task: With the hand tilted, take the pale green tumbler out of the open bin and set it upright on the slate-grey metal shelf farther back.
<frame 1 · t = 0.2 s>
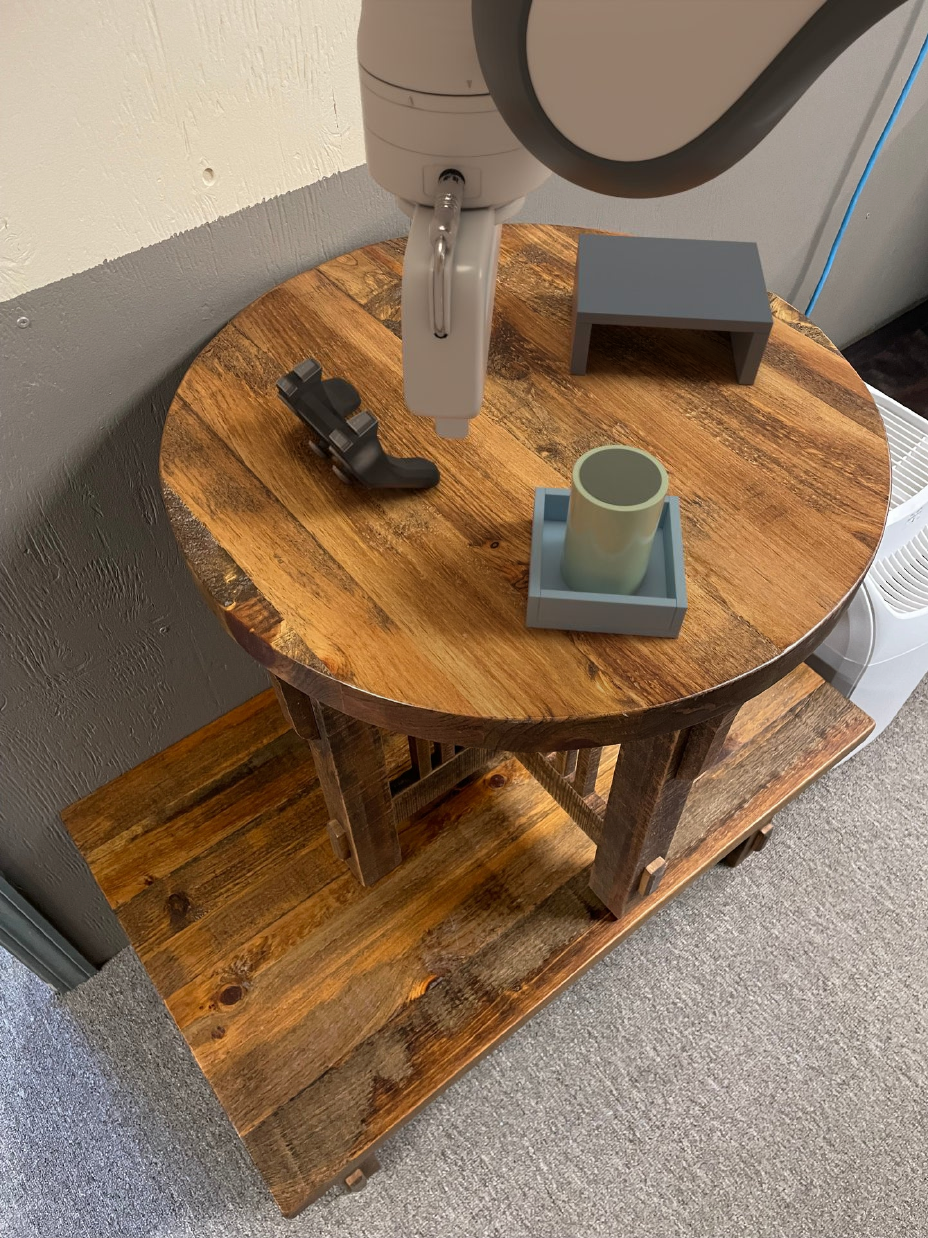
hand: (460, 376, 50), 22 cm above the table, tool pointing down, fingers open, 8 cm apart
game controller: (357, 459, 78), on the table
cup: (602, 569, 69), point 1 cm above the table, touching open bin
open bin: (601, 575, 70), on the table
shelf: (658, 337, 89), on the table
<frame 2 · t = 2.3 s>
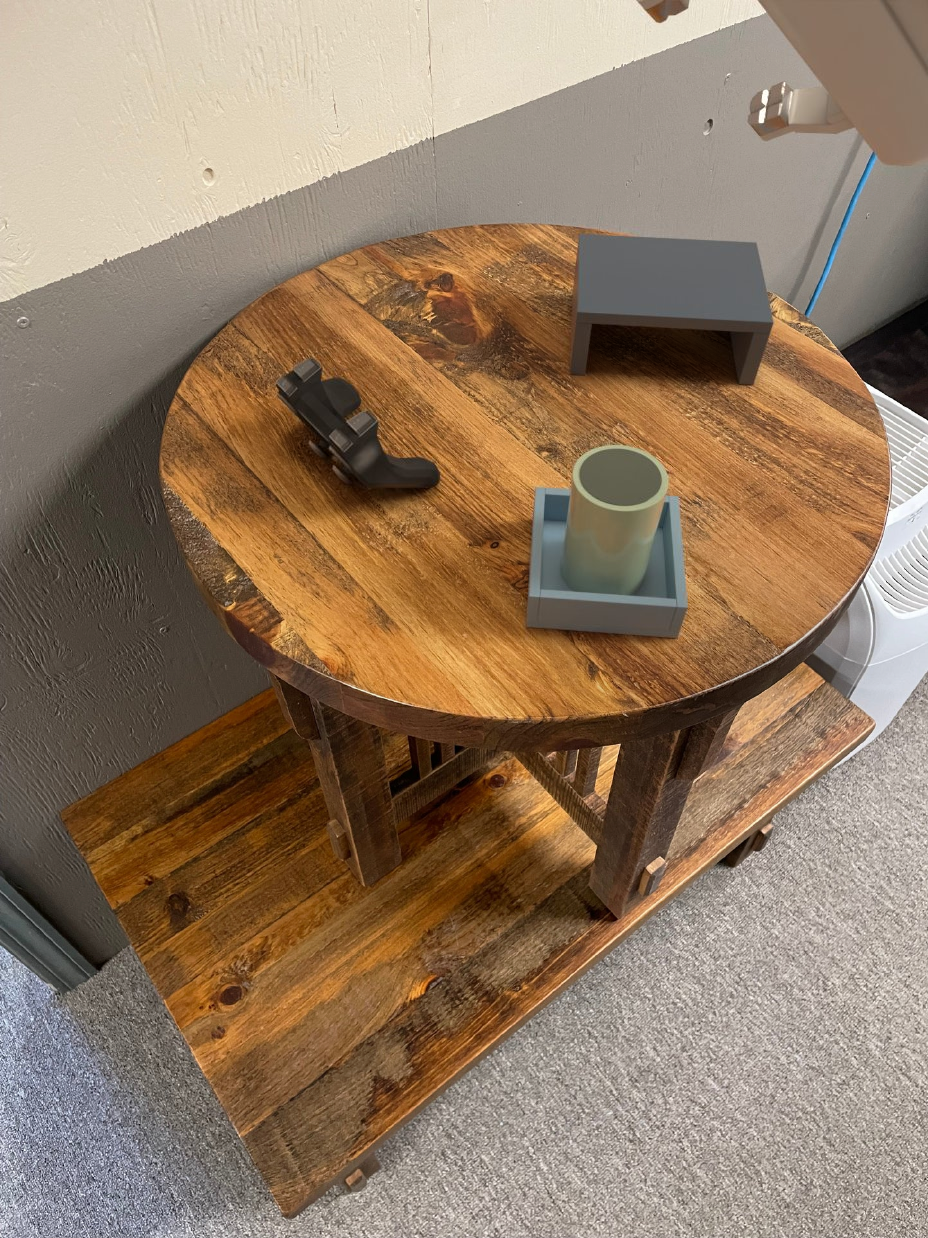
hand: (705, 63, 41), 37 cm above the table, tool tilted 55°, fingers open, 8 cm apart
nothing on the table moved.
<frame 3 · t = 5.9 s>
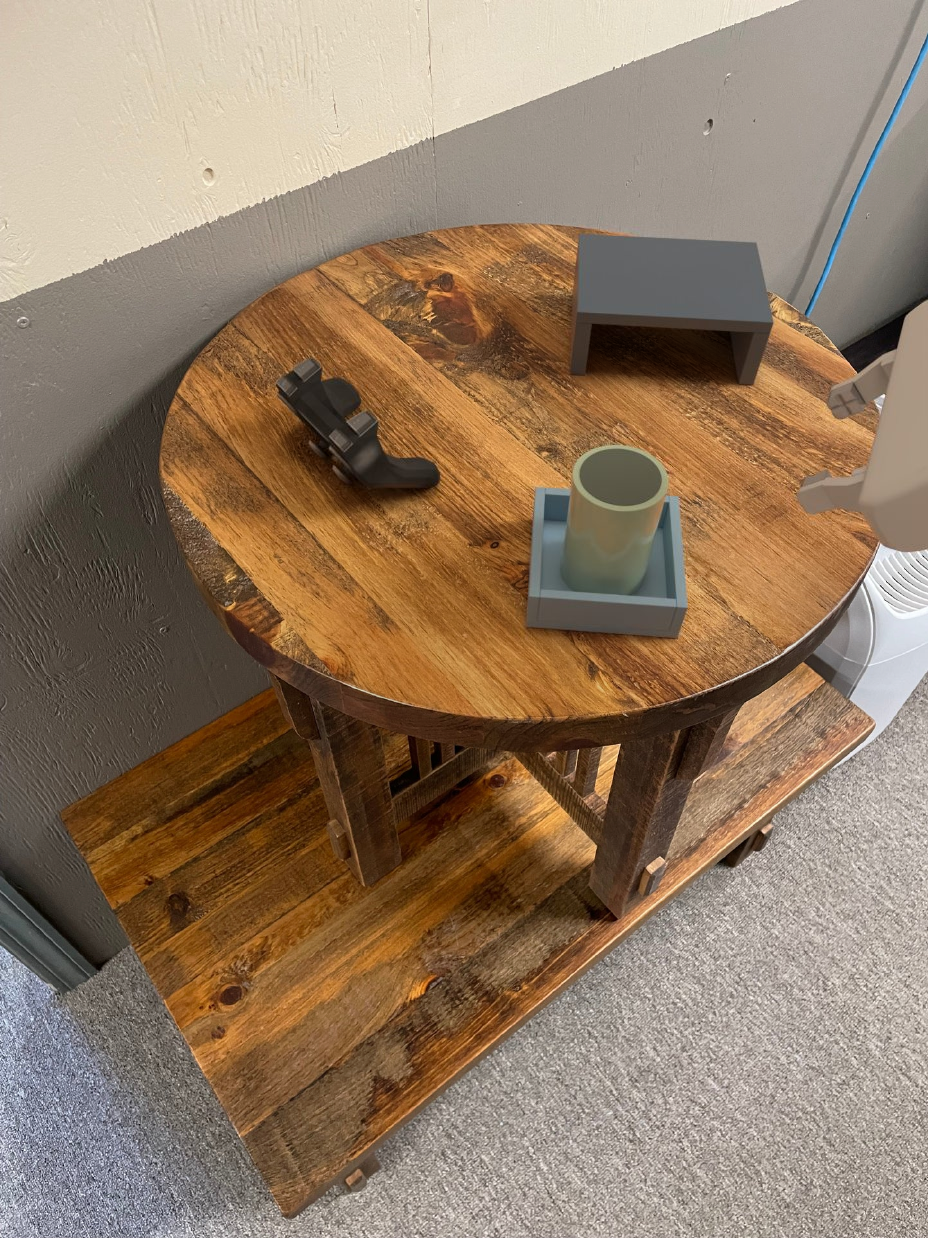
hand: (818, 448, 53), 17 cm above the table, tool tilted 45°, fingers open, 8 cm apart
nothing on the table moved.
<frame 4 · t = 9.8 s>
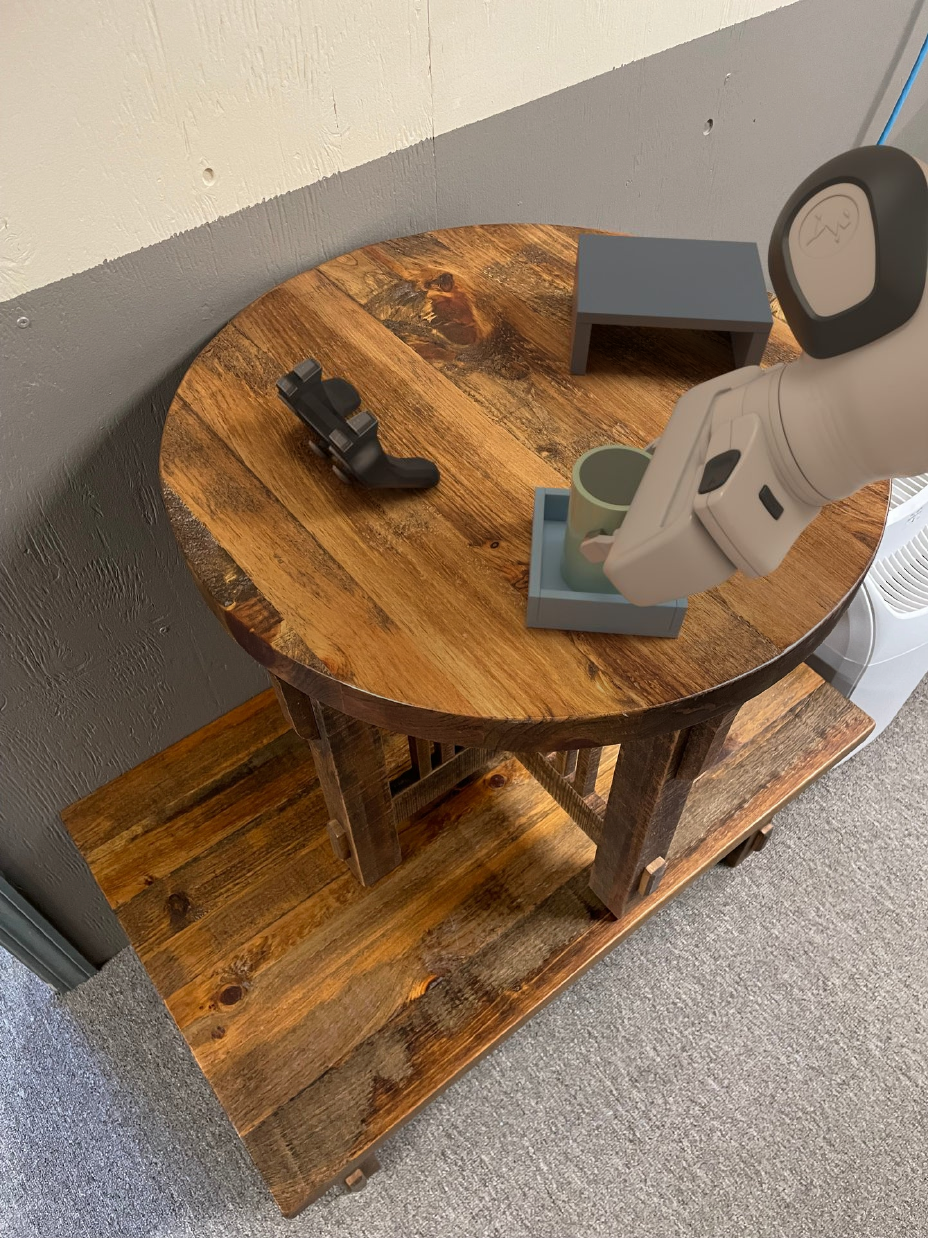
hand: (604, 512, 64), 7 cm above the table, tool tilted 45°, fingers closed on cup, 7 cm apart
cup: (602, 568, 69), point 1 cm above the table, touching open bin, gripper
everything else where it was.
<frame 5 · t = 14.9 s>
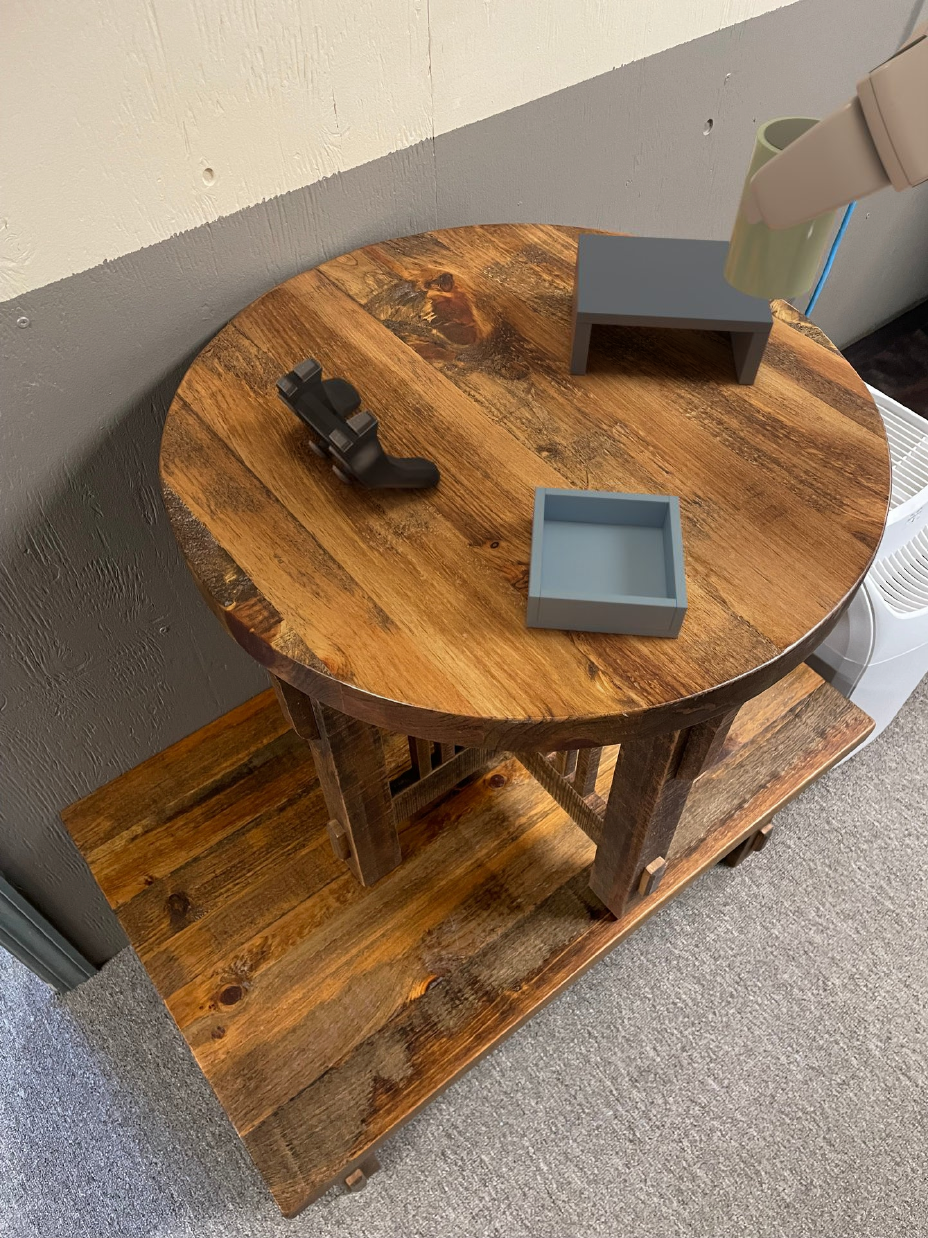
hand: (783, 192, 62), 23 cm above the table, tool tilted 45°, fingers closed on cup, 7 cm apart
cup: (767, 275, 66), point 17 cm above the table, touching gripper
everything else where it was.
when the fingers open (13 cm above the table, at t = 20.3 s): cup stays where it is, resting on shelf.
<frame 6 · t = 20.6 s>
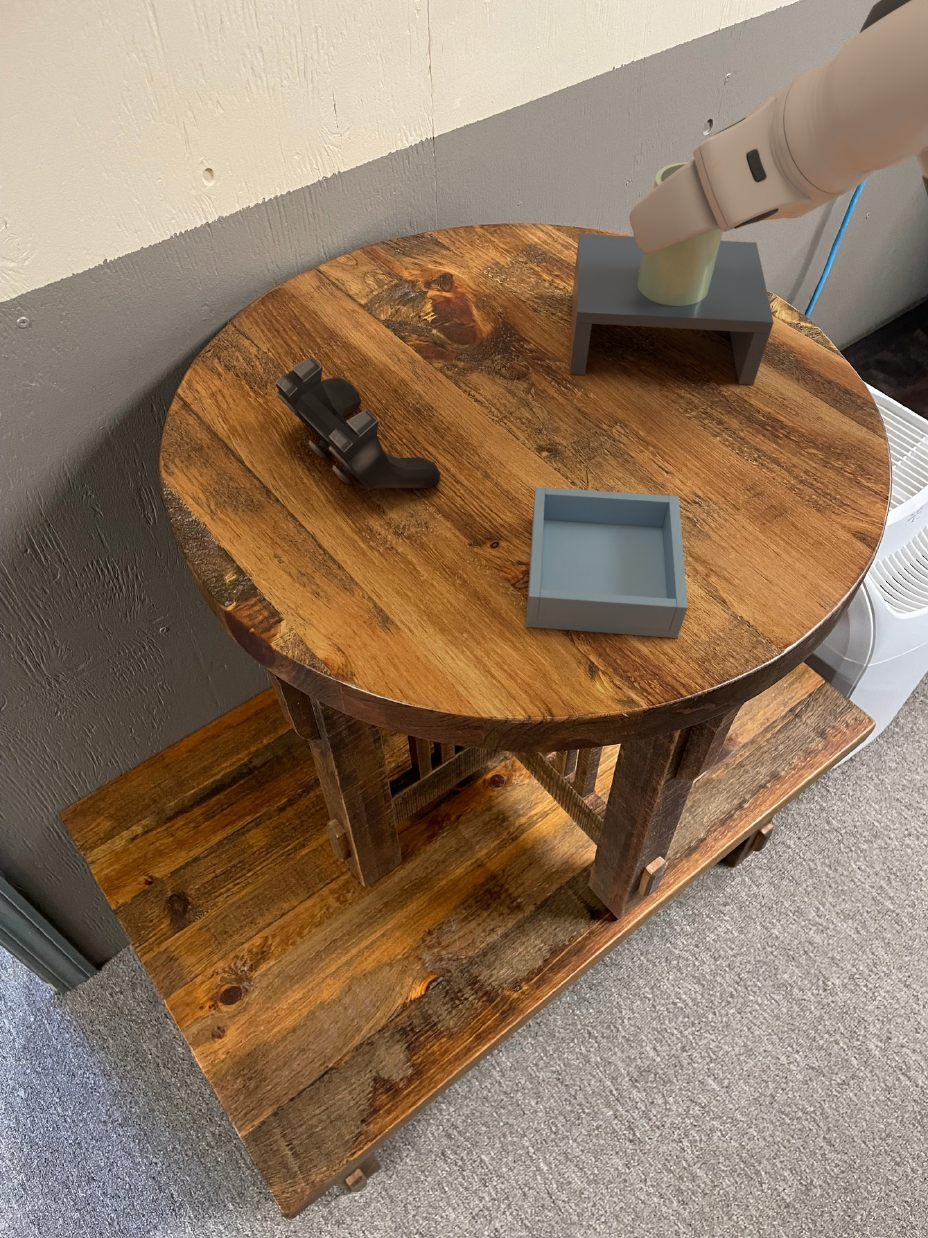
hand: (679, 223, 78), 13 cm above the table, tool tilted 45°, fingers open, 8 cm apart
cup: (672, 285, 83), point 7 cm above the table, touching shelf
everything else where it was.
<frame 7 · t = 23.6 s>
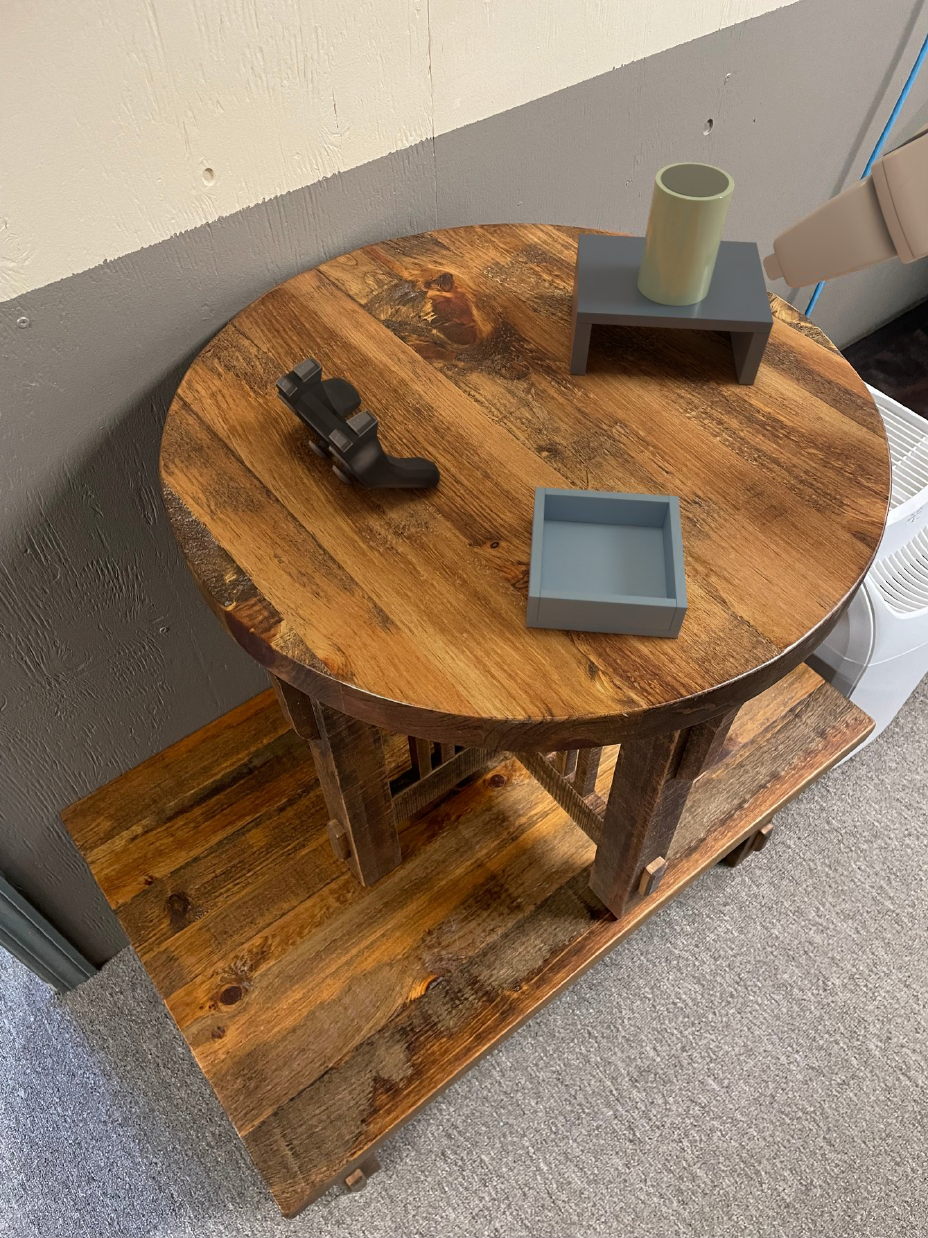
hand: (811, 247, 67), 18 cm above the table, tool tilted 45°, fingers open, 8 cm apart
nothing on the table moved.
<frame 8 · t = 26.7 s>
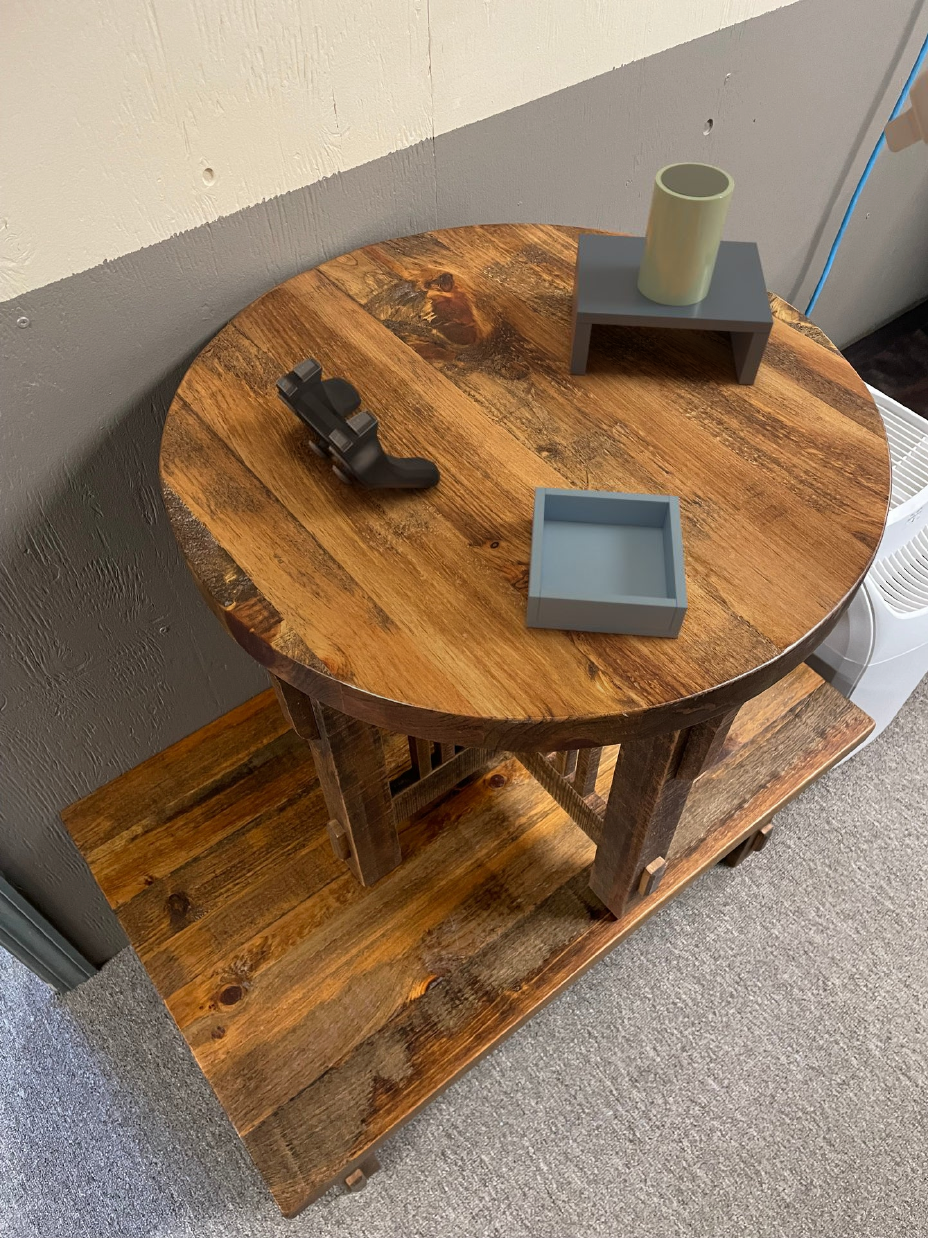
nothing on the table moved.
at the end: cup inside the target area on the shelf (1.9 cm from its centre), point 7.0 cm above the shelf's base; cup tilted 0° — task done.
